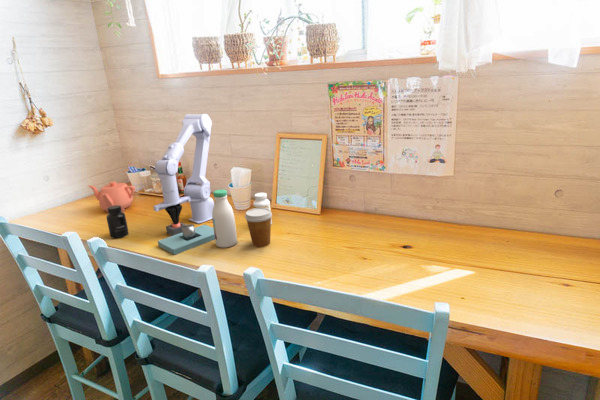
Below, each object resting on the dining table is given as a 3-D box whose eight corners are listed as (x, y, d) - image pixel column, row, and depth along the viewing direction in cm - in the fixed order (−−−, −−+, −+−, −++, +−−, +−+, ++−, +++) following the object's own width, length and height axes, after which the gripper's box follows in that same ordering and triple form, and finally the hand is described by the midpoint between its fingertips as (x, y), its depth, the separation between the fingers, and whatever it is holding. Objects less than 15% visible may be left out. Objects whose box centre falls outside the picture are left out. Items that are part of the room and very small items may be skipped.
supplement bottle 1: (122, 239, 158) (116, 210, 154) (106, 238, 160) (100, 210, 156) (132, 232, 164) (126, 204, 161) (117, 231, 166) (111, 204, 162)
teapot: (108, 217, 184) (101, 188, 180) (93, 210, 195) (86, 183, 191) (141, 207, 195) (136, 180, 191) (125, 201, 206) (120, 175, 202)
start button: (179, 229, 163) (177, 221, 162) (183, 231, 161) (181, 222, 160) (171, 231, 161) (170, 223, 160) (175, 233, 158) (174, 225, 157)
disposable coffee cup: (263, 235, 152) (260, 205, 149) (280, 242, 146) (277, 210, 142) (242, 244, 146) (238, 213, 142) (259, 251, 140) (256, 218, 136)
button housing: (180, 228, 165) (179, 221, 164) (188, 232, 161) (187, 225, 160) (166, 233, 161) (165, 226, 160) (174, 237, 157) (173, 229, 156)
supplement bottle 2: (260, 221, 167) (257, 191, 163) (275, 222, 164) (272, 192, 160) (252, 227, 161) (248, 196, 157) (266, 228, 158) (263, 197, 154)
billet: (193, 238, 155) (190, 223, 153) (198, 241, 151) (196, 226, 149) (182, 241, 152) (179, 226, 150) (187, 245, 149) (184, 229, 147)
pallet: (205, 229, 163) (204, 224, 162) (222, 236, 154) (221, 231, 154) (158, 246, 149) (157, 241, 149) (174, 255, 141) (173, 249, 141)
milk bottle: (241, 240, 149) (235, 188, 143) (229, 249, 143) (222, 195, 136) (224, 238, 152) (217, 187, 146) (211, 246, 146) (203, 193, 140)
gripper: (181, 184, 163) (187, 215, 167) (147, 193, 153) (153, 226, 158) (191, 186, 158) (196, 219, 162) (156, 196, 148) (162, 231, 153)
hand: (175, 223), depth 160 cm, fingers closed, pressing on start button
